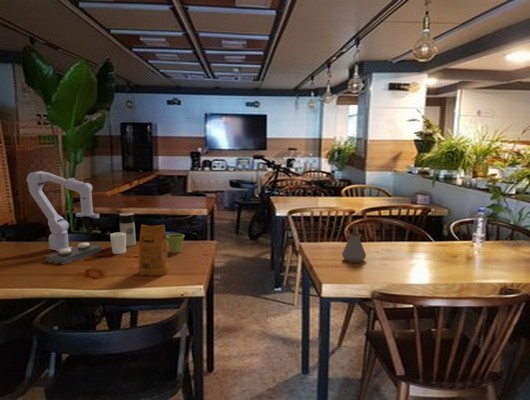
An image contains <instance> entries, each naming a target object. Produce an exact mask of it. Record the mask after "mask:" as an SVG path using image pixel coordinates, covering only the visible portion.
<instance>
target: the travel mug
mask: <svg viewBox="0 0 530 400" xmlns="http://www.w3.org/2000/svg"><path fill="white" fill-rule="evenodd" d="M134 215H135V214H134V212H122V213H119V216H120V218H119V232H124V233H126V248H127V247H134V246H135V245H136V244H137V240H136V225H135V218H134Z"/></svg>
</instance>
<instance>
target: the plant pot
mask: <svg viewBox="0 0 530 400" xmlns="http://www.w3.org/2000/svg"><path fill="white" fill-rule="evenodd" d="M166 238H167V243H168V248H169V252H170V253H171V254H178V253H181V252H183V245H184V244H183V243H184V238H185V234H183V233H172V234H166Z"/></svg>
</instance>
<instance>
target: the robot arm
mask: <svg viewBox="0 0 530 400" xmlns="http://www.w3.org/2000/svg"><path fill="white" fill-rule="evenodd" d="M25 180H26V182H27V185H28V191H29V194H30V195H31V196H32V198H33V199H34V201H35V202H36V204H37V206H38V207H39V209H41V211H42V213H43V214H44V216H45V218H47V220H48V221H47V225H48V227H49V230H50V232H51V233H50V234H49V236H48V247H49V248H48V249H53V250H56V251H55V252H59V250H60V249H64V248H73V247H74V246H73V247H72V246H69V234H68V233H69V232H68V229H69V227H70V224H69V222H68V221H67V220H66V219H65V218H64V217H63V216H62V215H59V214H58V213H57V211H56V210H55V208H54V207H53V205H52V203H51V202H50V200H49V199H48V198H47V196H46V195H45V193H44V192H43V187H44V185H45V183H47V182H52V183H55V184H58V185H63V186H64V187H65V189H66V190H67V189H68V190H71V191H73V192H77V193H78V194H79V196H80V197H79V200H80V210H81V211H80V212H76V213H75V218H76V217H77V218H79V217H80V220H81V222H82V223H83V225H84V228H85V230H86V232H89V231H92V226H93V222H94V221H95V219H100V213H94V210H93V209H94V208H93V206H94V205H93V196H92V195H93V194H92V192H93V189H94V186H93V185H92V184H91V183H90V182H85V183H84V181H83V180H82V181H80V180H76V178H75V177H70V178H67V179H66V178H64V177H62V176H59V175H55V174H54V173H50V172H48V171H44V170H39V171H33V172H29V173H28V175H27V178H26V179H25Z"/></svg>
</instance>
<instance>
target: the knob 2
mask: <svg viewBox="0 0 530 400" xmlns="http://www.w3.org/2000/svg"><path fill="white" fill-rule="evenodd" d="M90 245H91V244H90V242H85V241H84V242H79V243H77V246H78V248H80V249H83V250H84V249H87V248H88V247H89V246H90Z"/></svg>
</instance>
